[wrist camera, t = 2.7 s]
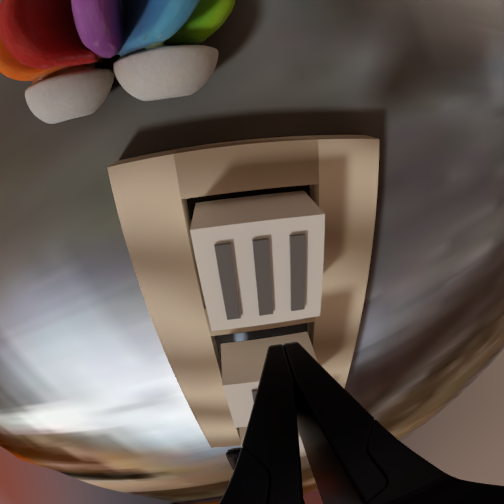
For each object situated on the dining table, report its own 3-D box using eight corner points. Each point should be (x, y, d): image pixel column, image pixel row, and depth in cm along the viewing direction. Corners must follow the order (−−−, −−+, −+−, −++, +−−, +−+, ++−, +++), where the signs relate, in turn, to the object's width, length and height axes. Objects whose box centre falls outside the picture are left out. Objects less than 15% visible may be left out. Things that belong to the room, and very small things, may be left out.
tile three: (304, 279, 16) (320, 318, 13) (211, 292, 15) (211, 333, 13) (303, 190, 13) (326, 215, 11) (195, 202, 13) (189, 231, 10)
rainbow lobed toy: (47, -10, 7) (-34, -43, 1) (230, -53, 8) (243, -142, 1) (46, 128, 11) (-55, 163, 5) (235, 94, 12) (254, 82, 5)
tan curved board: (328, 417, 26) (332, 429, 24) (210, 435, 25) (211, 447, 24) (364, 134, 13) (379, 139, 12) (118, 160, 12) (107, 167, 11)
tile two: (303, 380, 19) (314, 417, 16) (232, 391, 19) (235, 429, 16) (307, 331, 16) (321, 372, 14) (220, 343, 16) (222, 387, 13)
